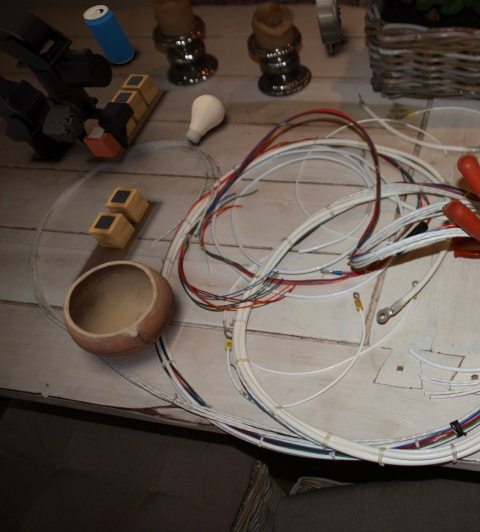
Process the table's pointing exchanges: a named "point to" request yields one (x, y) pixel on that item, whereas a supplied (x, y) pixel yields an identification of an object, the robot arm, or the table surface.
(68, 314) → the bowl
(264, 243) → the table surface
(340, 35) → the alarm clock
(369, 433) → the table surface
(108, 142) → the letter S
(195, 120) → the light bulb
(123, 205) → the wooden block tray
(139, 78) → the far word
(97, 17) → the beverage can
